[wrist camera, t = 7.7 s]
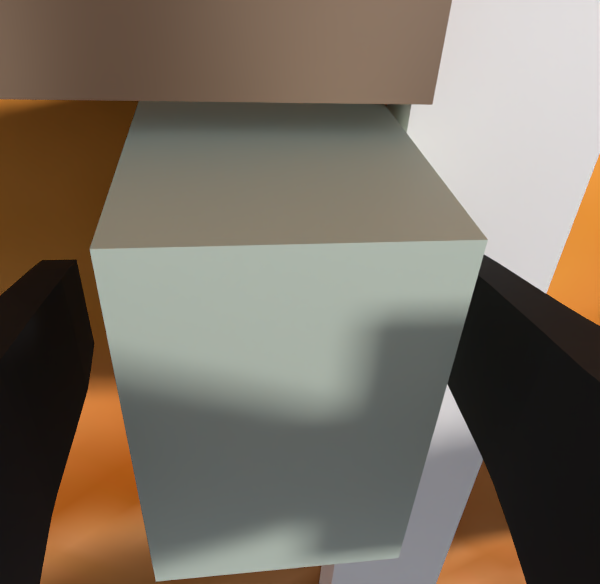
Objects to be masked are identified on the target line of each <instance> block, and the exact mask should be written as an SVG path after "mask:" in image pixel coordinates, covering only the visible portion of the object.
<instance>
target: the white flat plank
mask: <svg viewBox="0 0 600 584" xmlns="http://www.w3.org/2000/svg"><path fill="white" fill-rule="evenodd" d="M387 108H388V109H389V111H390V112H391V113H392V115H393V116H394V117H395V119H396V120H397V121H398V122H399V124H400V125H401V126H402V128H403V129H404V130H405V132H406V133H407V134H408V136H409V137H410V138H411V140H412V141H413V142H414V143H415V145H416V146H417V147H418V149H419V150H420V151H421V153H422V154H423V155H424V157H425V158H426V159H427V161H428V162H429V163H430V164H431V166H432V167H433V168H434V170H435V171H436V172H437V174H438V175H439V176H440V178H441V179H442V180H443V182H444V183H445V184H446V185H447V187H448V188H449V189H450V191H451V192H452V193H453V195H454V196H455V197H456V199H457V200H458V201H459V203H460V204H461V205H462V206H463V208H464V209H465V210H466V212H467V213H468V214H469V216H470V217H471V218H472V220H473V221H474V222H475V224H476V225H477V226H478V227H479V229H480V230H481V231H482V233H483V234H484V235H485V237H486V238H487V239H488V241H487V245H486V248H485V252H484V255H486V256H488V257H489V258H491V259H493V260H494V261H496V262H498V263H499V264H501V265H502V266H504V267H506V268H507V269H509V270H510V271H512V272H513V273H515V274H517V275H518V276H520V277H521V278H523V279H524V280H526V281H527V282H529V283H530V284H532V285H533V286H535V287H537V288H538V289H540V290H541V291H543V292H544V293H547V290H548V288H549V285H550V282H551V280H552V277H553V274H554V272H555V269H556V267H557V264H558V261H559V259H560V256H561V253H562V251H563V248H564V246H565V243H566V240H567V238H568V235H569V232H570V230H571V227H572V225H573V222H574V219H575V217H576V214H577V211H578V209H579V206H580V203H581V201H582V198H583V196H584V193H585V190H586V188H587V185H588V182H589V180H590V177H591V175H592V172H593V169H594V167H595V164H596V161H597V159H598V156H599V154H600V0H452V3H451V9H450V14H449V19H448V25H447V30H446V35H445V41H444V46H443V51H442V56H441V62H440V67H439V72H438V78H437V83H436V88H435V94H434V99H433V104H432V105H420V104H387ZM482 461H483V458H482V456H481V454H480V452H479V450H478V448H477V445H476V443H475V441H474V439H473V437H472V435H471V433H470V431H469V429H468V427H467V424H466V422H465V420H464V418H463V416H462V414H461V412H460V410H459V408H458V406H457V404H456V401H455V399H454V397H453V395H452V393H451V391H450V389H449V386H448V384H447V387H446V391H445V394H444V398H443V401H442V405H441V408H440V412H439V415H438V419H437V423H436V426H435V430H434V433H433V437H432V440H431V444H430V447H429V451H428V455H427V458H426V462H425V465H424V469H423V472H422V476H421V479H420V483H419V487H418V490H417V494H416V497H415V501H414V504H413V508H412V511H411V515H410V519H409V522H408V526H407V529H406V533H405V536H404V540H403V543H402V547H401V551H400V554H399V558H393V559H382V560H372V561H362V562H352V563H341V564H331V565H322V566H321V573H320V580H319V584H436V582H437V579H438V577H439V574H440V571H441V569H442V566H443V563H444V561H445V558H446V556H447V553H448V550H449V548H450V545H451V542H452V540H453V537H454V535H455V532H456V529H457V527H458V524H459V521H460V519H461V516H462V513H463V511H464V508H465V506H466V503H467V500H468V498H469V495H470V492H471V490H472V487H473V485H474V482H475V479H476V477H477V474H478V471H479V469H480V466H481V464H482Z"/></svg>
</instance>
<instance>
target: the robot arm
mask: <svg viewBox="0 0 600 584" xmlns="http://www.w3.org/2000/svg"><path fill="white" fill-rule="evenodd" d="M93 349H94V340H93V336H92V331H91V326H90V321H89V317H88V312H87V307H86V303H85V298H84V293H83V289H82V284H81V279H80V274H79V270H78V265H77V260H42V261H41V262H39V263H38V264H37V265H35V266H34V267H33V268H32V269H31V270H29V271H28V272H27V273H26V274H25V275H24V276H22V277H21V278H20V279H19V280H18V281H17V282H16V283H14V284H13V285H12V286H11V287H10V288H9V289H8V290H6V291H5V292H4V293H3V294H2V295H1V296H0V584H40V579H41V573H42V567H43V561H44V556H45V550H46V545H47V539H48V534H49V528H50V522H51V517H52V513H53V509H54V505H55V501H56V497H57V493H58V489H59V486H60V483H61V479H62V476H63V473H64V469H65V466H66V462H67V459H68V456H69V452H70V449H71V445H72V442H73V439H74V435H75V432H76V429H77V425H78V422H79V418H80V415H81V411H82V408H83V404H84V401H85V397H86V393H87V390H88V384H89V377H90V371H91V364H92V357H93ZM447 384H448V386H449V389H450V391H451V393H452V395H453V397H454V399H455V401H456V404H457V406H458V408H459V410H460V412H461V414H462V416H463V418H464V420H465V422H466V424H467V427H468V429H469V431H470V433H471V435H472V437H473V439H474V441H475V443H476V445H477V448H478V450H479V452H480V454H481V456H482V458H483V460H484V462H485V465H486V467H487V469H488V472H489V474H490V476H491V479H492V481H493V484H494V486H495V489H496V492H497V495H498V498H499V501H500V504H501V506H502V509H503V512H504V515H505V518H506V521H507V524H508V527H509V529H510V533H511V536H512V539H513V542H514V545H515V548H516V551H517V555H518V558H519V561H520V564H521V567H522V570H523V573H524V576H525V580H526V583H527V584H600V326H599V325H597V324H595V323H593V322H592V321H590V320H588V319H586V318H585V317H583V316H581V315H580V314H578V313H576V312H575V311H573V310H571V309H570V308H568V307H566V306H565V305H563V304H562V303H560V302H558V301H557V300H555V299H554V298H552V297H551V296H549V295H547V294H546V293H544V292H543V291H541V290H540V289H538V288H537V287H535V286H533V285H532V284H530V283H529V282H527V281H526V280H524V279H523V278H521V277H520V276H518V275H517V274H515V273H513V272H512V271H510V270H509V269H507V268H506V267H504V266H502V265H501V264H499V263H498V262H496V261H494V260H493V259H491V258H489V257H488V256H486V255H483V259H482V263H481V266H480V270H479V273H478V277H477V280H476V284H475V287H474V291H473V295H472V298H471V302H470V305H469V309H468V312H467V316H466V319H465V323H464V327H463V330H462V334H461V337H460V341H459V344H458V348H457V351H456V355H455V359H454V362H453V366H452V369H451V373H450V376H449V380H448V383H447Z"/></svg>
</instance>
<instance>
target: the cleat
mask: <svg viewBox="0 0 600 584" xmlns="http://www.w3.org/2000/svg"><path fill="white" fill-rule="evenodd" d="M451 3H452V0H0V99H31V100H109V101H186V102H264V103H342V104H420V105H432V104H433V99H434V94H435V88H436V83H437V78H438V72H439V67H440V62H441V56H442V51H443V46H444V41H445V35H446V30H447V25H448V19H449V14H450V9H451Z"/></svg>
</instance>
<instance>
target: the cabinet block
mask: <svg viewBox="0 0 600 584" xmlns="http://www.w3.org/2000/svg"><path fill="white" fill-rule="evenodd" d="M487 241H488V239H487V238H486V237H485V235H484V234H483V233H482V231H481V230H480V229H479V227H478V226H477V225H476V224H475V222H474V221H473V220H472V218H471V217H470V216H469V214H468V213H467V212H466V210H465V209H464V208H463V206H462V205H461V204H460V203H459V201H458V200H457V199H456V197H455V196H454V195H453V193H452V192H451V191H450V189H449V188H448V187H447V185H446V184H445V183H444V182H443V180H442V179H441V178H440V176H439V175H438V174H437V172H436V171H435V170H434V168H433V167H432V166H431V164H430V163H429V162H428V161H427V159H426V158H425V157H424V155H423V154H422V153H421V151H420V150H419V149H418V147H417V146H416V145H415V143H414V142H413V141H412V140H411V138H410V137H409V136H408V134H407V133H406V132H405V130H404V129H403V128H402V126H401V125H400V124H399V122H398V121H397V120H396V119H395V117H394V116H393V115H392V113H391V112H390V111H389V109H388V108H387V107H386V105H385V104H342V103H264V102H186V101H139V102H138V105H137V108H136V111H135V114H134V117H133V120H132V123H131V126H130V129H129V132H128V135H127V138H126V141H125V144H124V147H123V150H122V153H121V156H120V159H119V162H118V165H117V168H116V171H115V174H114V177H113V180H112V183H111V186H110V189H109V192H108V195H107V198H106V201H105V204H104V207H103V210H102V213H101V216H100V219H99V222H98V225H97V228H96V231H95V234H94V237H93V240H92V243H91V246H90V254H91V259H92V264H93V269H94V274H95V279H96V284H97V289H98V294H99V299H100V304H101V309H102V314H103V319H104V324H105V329H106V334H107V339H108V344H109V349H110V354H111V359H112V364H113V369H114V374H115V379H116V384H117V389H118V394H119V399H120V404H121V409H122V414H123V419H124V424H125V429H126V434H127V439H128V444H129V449H130V454H131V459H132V464H133V469H134V474H135V479H136V484H137V489H138V494H139V499H140V504H141V509H142V514H143V519H144V524H145V529H146V534H147V539H148V544H149V549H150V554H151V559H152V564H153V569H154V574H155V579H156V582H157V581H167V580H177V579H188V578H198V577H208V576H218V575H229V574H239V573H249V572H259V571H270V570H280V569H290V568H300V567H311V566H321V565H331V564H341V563H352V562H362V561H372V560H382V559H393V558H399V554H400V551H401V547H402V543H403V540H404V536H405V533H406V529H407V526H408V522H409V519H410V515H411V511H412V508H413V504H414V501H415V497H416V494H417V490H418V487H419V483H420V479H421V476H422V472H423V469H424V465H425V462H426V458H427V455H428V451H429V447H430V444H431V440H432V437H433V433H434V430H435V426H436V423H437V419H438V415H439V412H440V408H441V405H442V401H443V398H444V394H445V391H446V387H447V383H448V380H449V376H450V373H451V369H452V366H453V362H454V359H455V355H456V351H457V348H458V344H459V341H460V337H461V334H462V330H463V327H464V323H465V319H466V316H467V312H468V309H469V305H470V302H471V298H472V295H473V291H474V287H475V284H476V280H477V277H478V273H479V270H480V266H481V263H482V259H483V255H484V252H485V248H486V245H487Z"/></svg>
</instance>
